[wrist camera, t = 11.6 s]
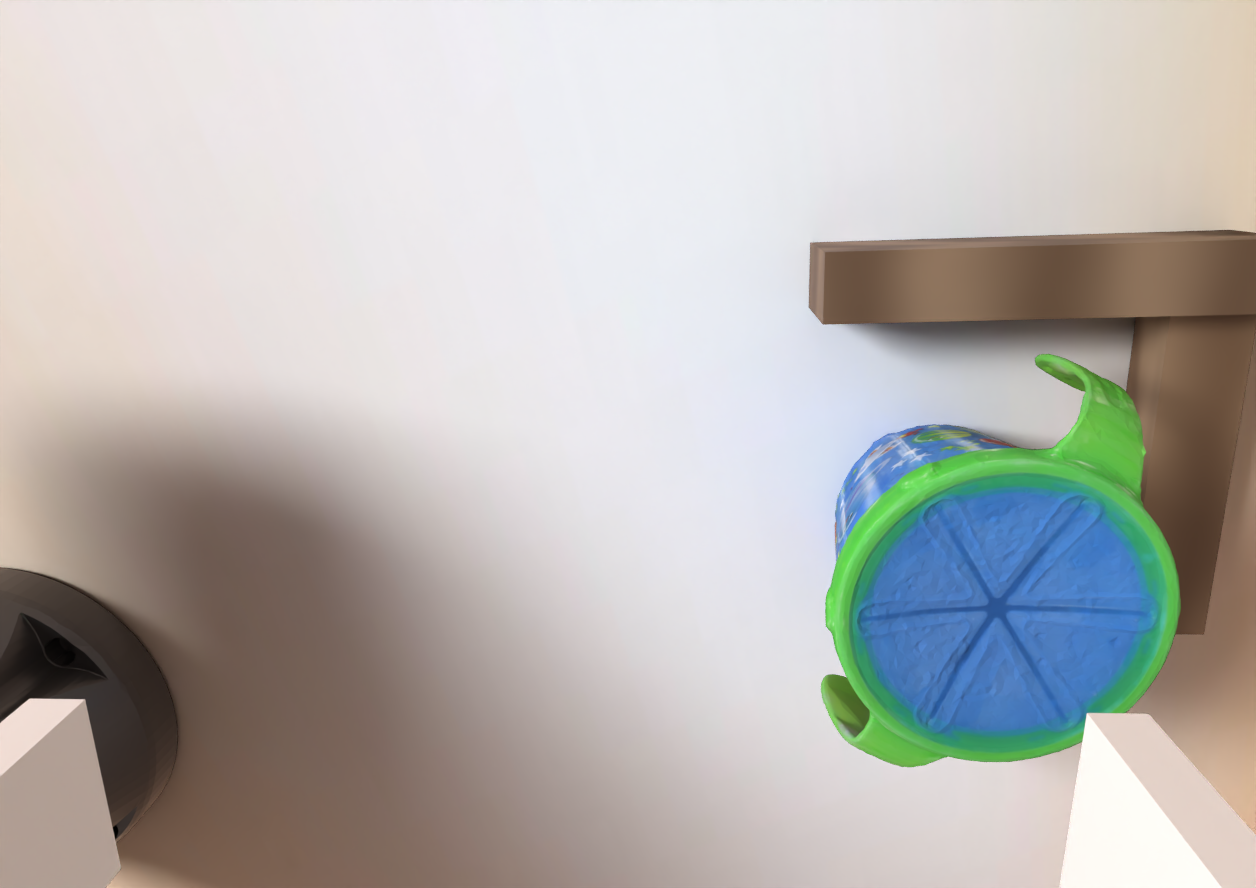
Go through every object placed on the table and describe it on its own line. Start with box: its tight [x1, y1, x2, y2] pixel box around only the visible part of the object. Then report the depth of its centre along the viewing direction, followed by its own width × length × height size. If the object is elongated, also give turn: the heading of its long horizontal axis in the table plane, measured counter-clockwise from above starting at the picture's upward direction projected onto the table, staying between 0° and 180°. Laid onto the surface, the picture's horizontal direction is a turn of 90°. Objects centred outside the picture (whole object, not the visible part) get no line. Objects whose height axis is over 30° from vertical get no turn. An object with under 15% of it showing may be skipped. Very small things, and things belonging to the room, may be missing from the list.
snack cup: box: [821, 354, 1181, 767], centre depth 33 cm, size 16×11×10 cm
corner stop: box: [809, 230, 1256, 634], centre depth 35 cm, size 16×16×4 cm
